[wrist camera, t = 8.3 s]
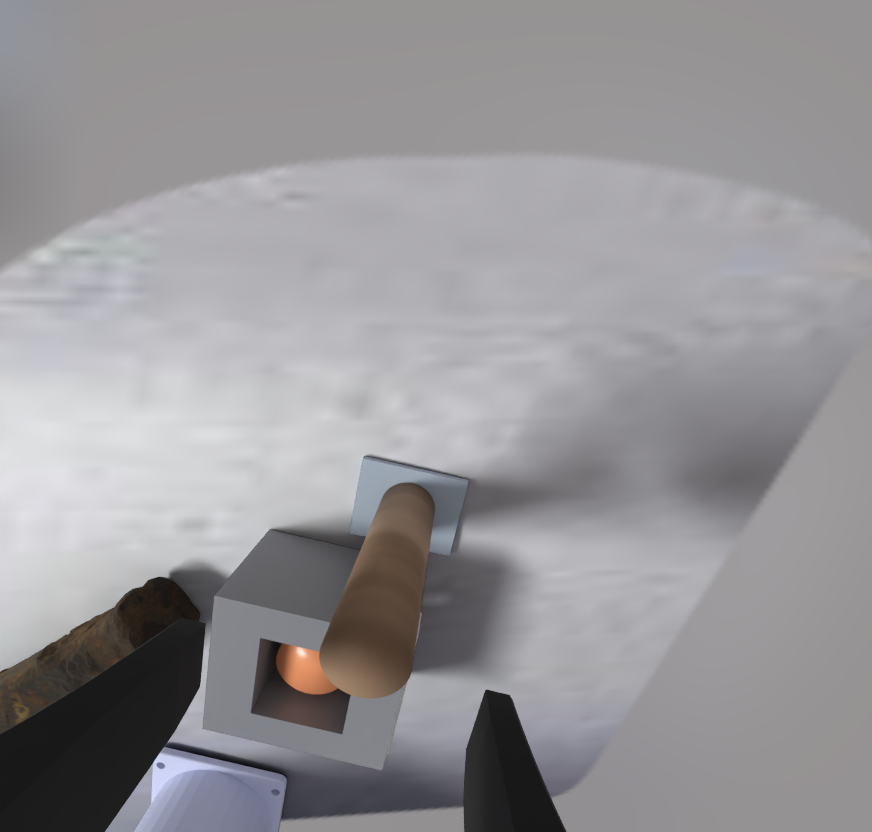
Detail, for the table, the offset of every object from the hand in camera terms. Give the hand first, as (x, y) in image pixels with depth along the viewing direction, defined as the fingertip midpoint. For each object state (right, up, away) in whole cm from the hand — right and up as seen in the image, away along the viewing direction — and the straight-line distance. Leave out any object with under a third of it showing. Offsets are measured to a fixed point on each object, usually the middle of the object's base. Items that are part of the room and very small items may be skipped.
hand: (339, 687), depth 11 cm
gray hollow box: (-3, -3, +12) cm, 13 cm away
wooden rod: (+1, +2, +10) cm, 10 cm away
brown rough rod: (-18, -7, +15) cm, 25 cm away
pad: (+1, +2, +10) cm, 10 cm away
